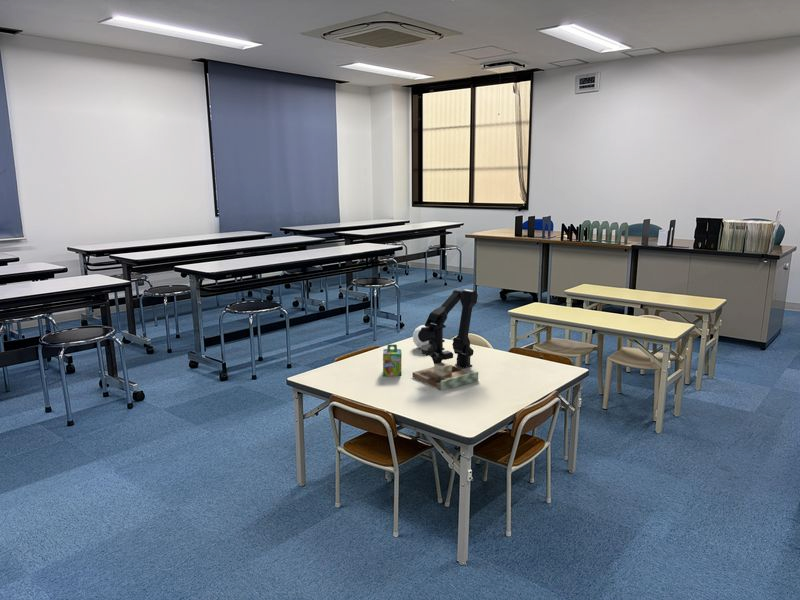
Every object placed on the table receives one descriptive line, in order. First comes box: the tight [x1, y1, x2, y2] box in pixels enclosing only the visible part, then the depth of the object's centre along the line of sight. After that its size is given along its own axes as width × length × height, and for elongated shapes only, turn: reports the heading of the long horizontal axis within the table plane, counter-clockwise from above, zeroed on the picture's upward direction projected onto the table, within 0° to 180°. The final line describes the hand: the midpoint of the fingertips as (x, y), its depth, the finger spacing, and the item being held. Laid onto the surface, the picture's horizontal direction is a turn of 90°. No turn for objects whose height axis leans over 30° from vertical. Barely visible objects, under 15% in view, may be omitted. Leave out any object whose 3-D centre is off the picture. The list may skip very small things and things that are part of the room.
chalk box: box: [382, 343, 403, 378], centre depth 283 cm, size 9×9×15 cm
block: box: [433, 361, 453, 376], centre depth 276 cm, size 6×6×4 cm
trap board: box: [412, 365, 479, 392], centre depth 275 cm, size 22×23×4 cm
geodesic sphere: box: [412, 324, 429, 349], centre depth 325 cm, size 15×14×14 cm
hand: (436, 368), depth 280 cm, fingers closed
